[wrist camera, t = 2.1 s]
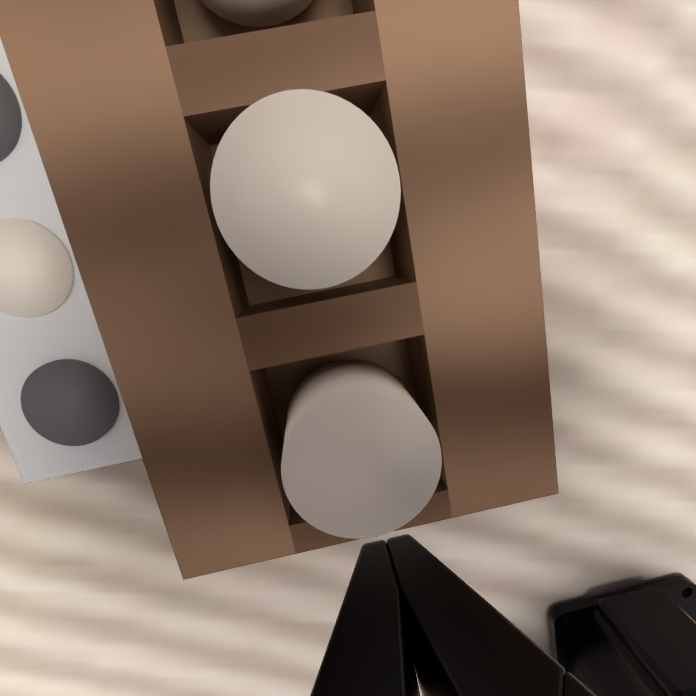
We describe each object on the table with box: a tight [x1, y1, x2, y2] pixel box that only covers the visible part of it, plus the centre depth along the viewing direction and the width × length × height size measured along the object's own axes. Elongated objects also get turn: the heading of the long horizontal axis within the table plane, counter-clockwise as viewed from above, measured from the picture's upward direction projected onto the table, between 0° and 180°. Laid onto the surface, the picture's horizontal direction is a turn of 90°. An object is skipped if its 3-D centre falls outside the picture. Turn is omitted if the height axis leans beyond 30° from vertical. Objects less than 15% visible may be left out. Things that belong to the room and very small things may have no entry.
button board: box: [0, 0, 558, 580], centre depth 12 cm, size 20×12×3 cm, turn 11°
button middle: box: [210, 89, 401, 290], centre depth 10 cm, size 4×4×3 cm
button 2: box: [281, 359, 442, 539], centre depth 12 cm, size 4×4×3 cm
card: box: [0, 38, 142, 484], centre depth 13 cm, size 14×5×1 cm, turn 11°
